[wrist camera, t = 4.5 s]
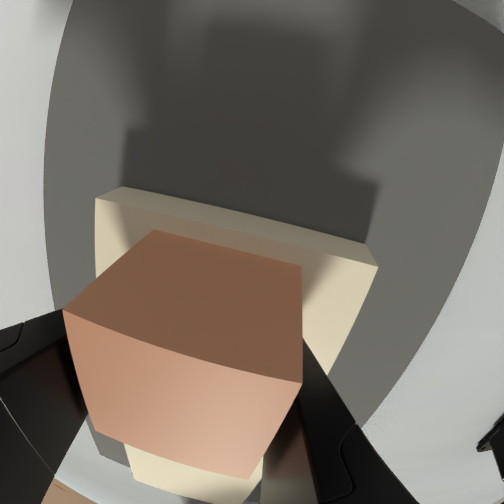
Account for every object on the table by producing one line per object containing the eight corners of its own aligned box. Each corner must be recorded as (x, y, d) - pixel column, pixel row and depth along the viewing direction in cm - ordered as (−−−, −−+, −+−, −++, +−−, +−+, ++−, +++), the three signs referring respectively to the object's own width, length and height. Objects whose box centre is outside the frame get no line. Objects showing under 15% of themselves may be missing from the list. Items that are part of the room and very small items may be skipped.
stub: (366, 244, 9) (429, 377, 4) (308, 378, 11) (305, 504, 6) (122, 186, 9) (-10, 253, 4) (121, 327, 12) (50, 425, 7)
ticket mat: (503, 45, 6) (542, 36, 4) (285, 498, 19) (282, 521, 17) (100, -35, 6) (65, -55, 4) (103, 447, 20) (92, 468, 17)
